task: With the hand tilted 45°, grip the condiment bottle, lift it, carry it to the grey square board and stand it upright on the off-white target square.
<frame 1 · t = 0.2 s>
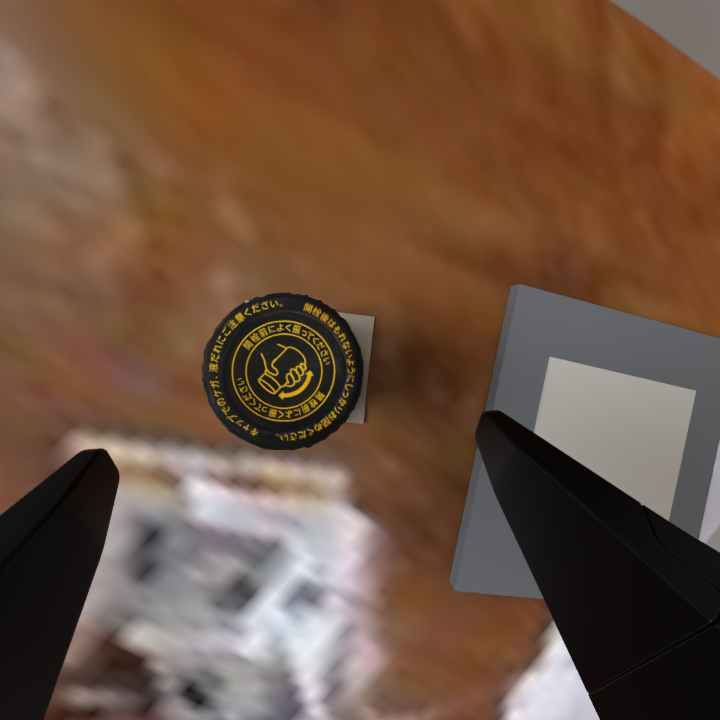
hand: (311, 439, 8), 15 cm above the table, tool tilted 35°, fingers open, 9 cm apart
grey square board: (595, 454, 27), on the table
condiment: (306, 363, 23), on the table
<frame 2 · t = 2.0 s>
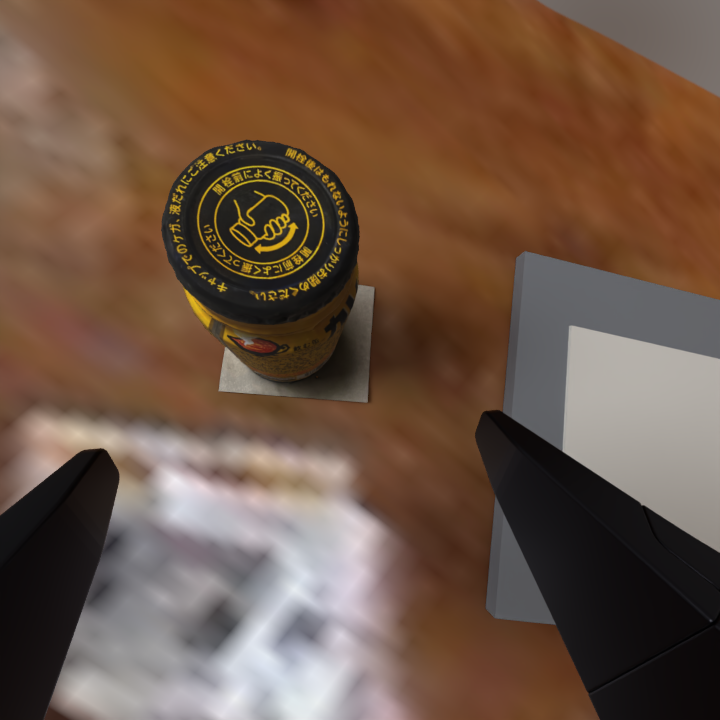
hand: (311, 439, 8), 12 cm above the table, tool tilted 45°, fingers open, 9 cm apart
grey square board: (640, 442, 23), on the table
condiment: (301, 337, 21), on the table
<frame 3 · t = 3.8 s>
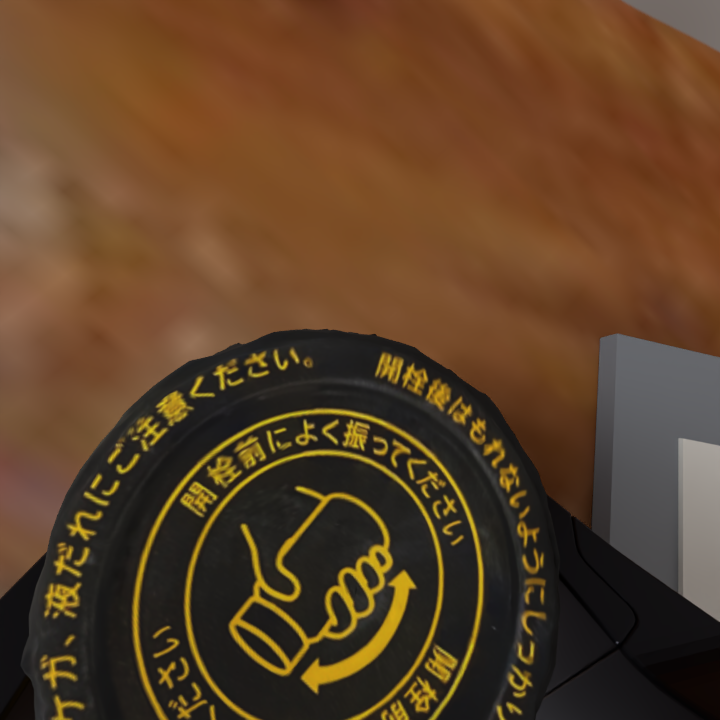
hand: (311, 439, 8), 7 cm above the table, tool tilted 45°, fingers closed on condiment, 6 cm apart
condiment: (329, 459, 15), on the table, touching gripper
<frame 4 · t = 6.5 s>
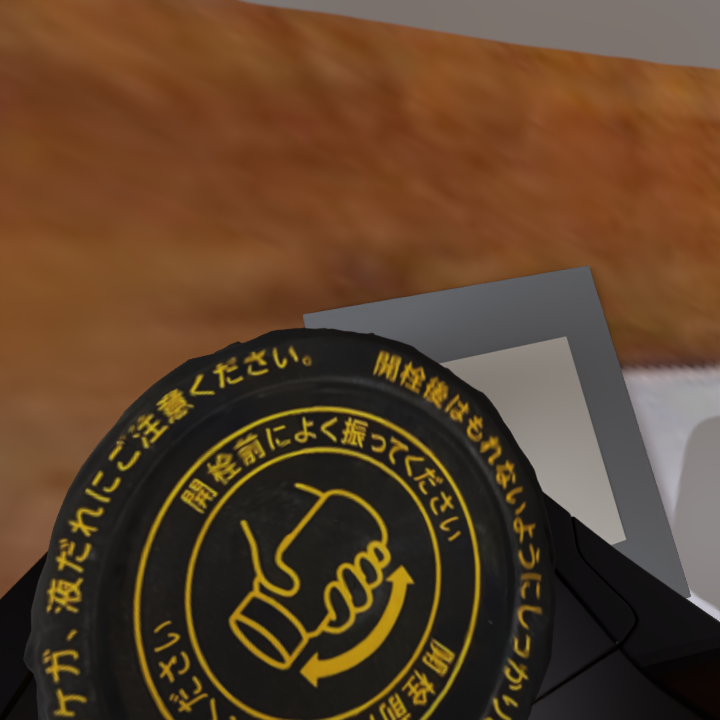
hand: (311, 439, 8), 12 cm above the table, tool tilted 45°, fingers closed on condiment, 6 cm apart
grey square board: (493, 457, 22), on the table
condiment: (328, 458, 15), point 5 cm above the table, touching gripper
when the fingers open (8 cm above the table, at t = 9.3 s): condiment stays where it is, resting on grey square board.
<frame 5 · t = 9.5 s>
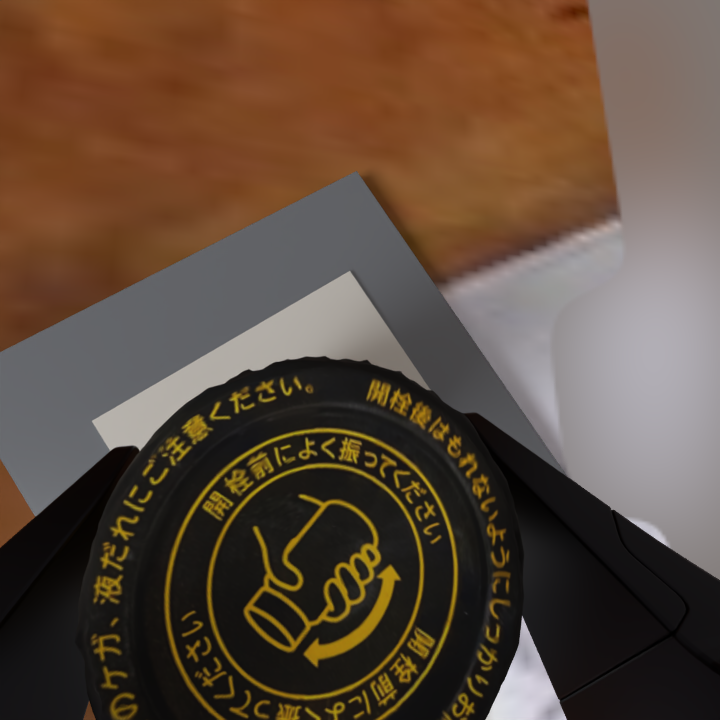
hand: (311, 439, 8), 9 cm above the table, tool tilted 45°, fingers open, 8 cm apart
grey square board: (310, 456, 17), on the table
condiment: (328, 461, 16), point 1 cm above the table, touching grey square board
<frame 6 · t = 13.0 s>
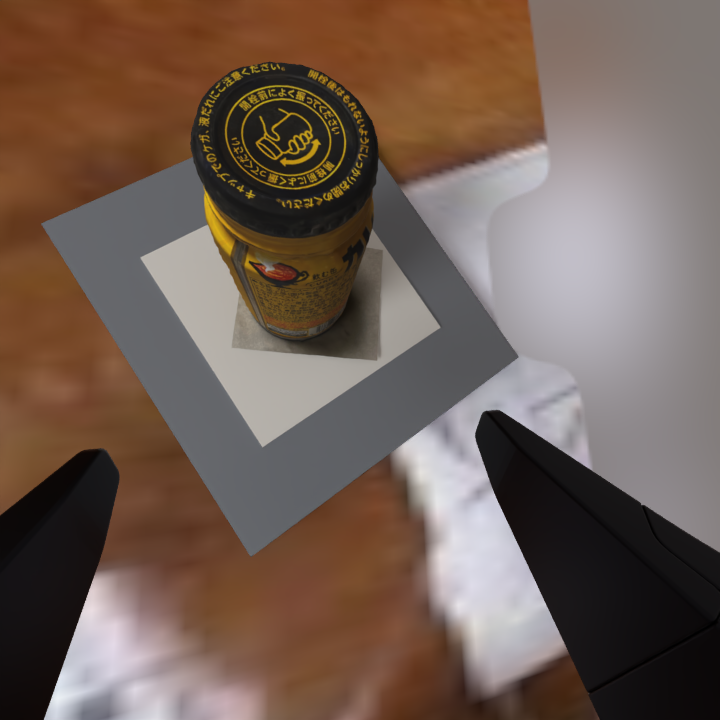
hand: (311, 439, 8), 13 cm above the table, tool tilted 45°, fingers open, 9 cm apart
grey square board: (298, 300, 22), on the table
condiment: (311, 298, 21), point 1 cm above the table, touching grey square board
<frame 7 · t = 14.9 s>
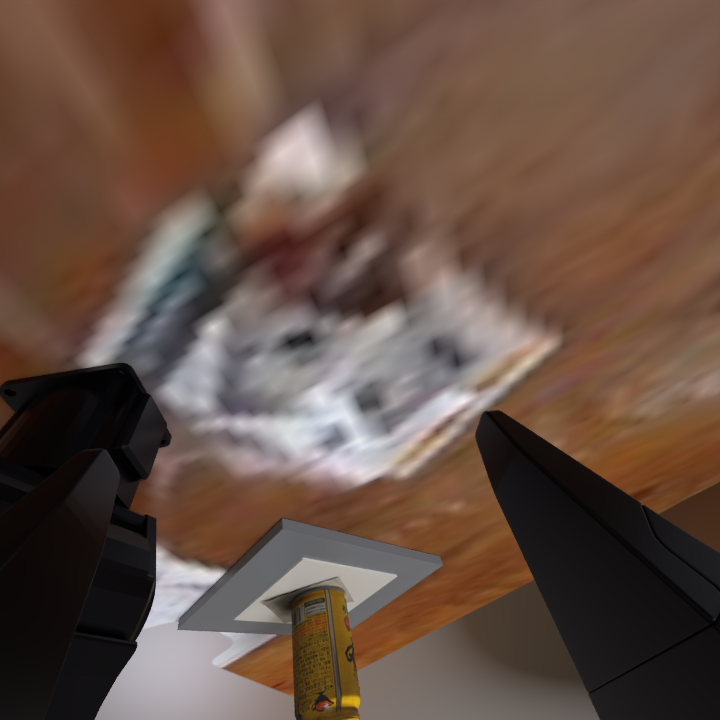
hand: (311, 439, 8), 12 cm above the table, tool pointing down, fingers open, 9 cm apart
grey square board: (316, 585, 39), on the table
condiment: (310, 597, 39), point 1 cm above the table, touching grey square board
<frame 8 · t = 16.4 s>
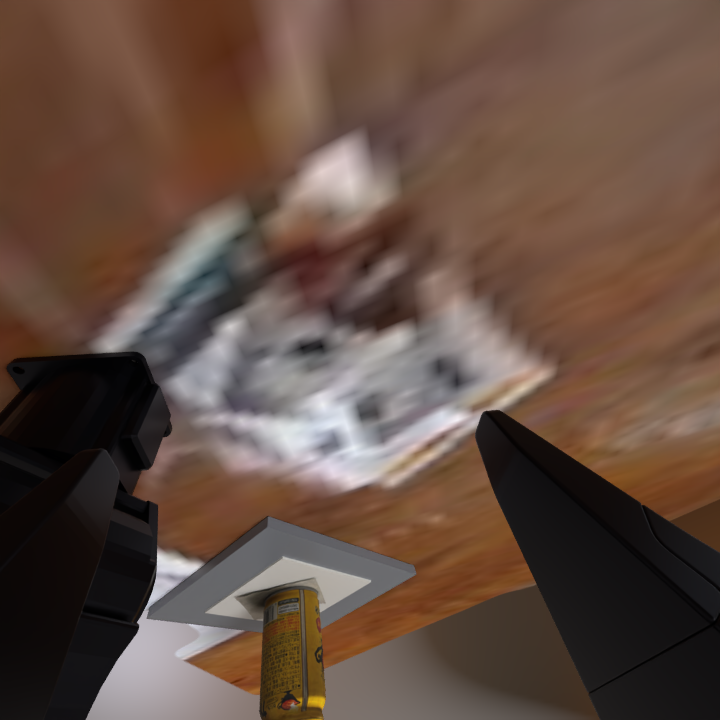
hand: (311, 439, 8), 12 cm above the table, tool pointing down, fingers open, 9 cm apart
grey square board: (290, 585, 40), on the table
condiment: (283, 596, 39), point 1 cm above the table, touching grey square board
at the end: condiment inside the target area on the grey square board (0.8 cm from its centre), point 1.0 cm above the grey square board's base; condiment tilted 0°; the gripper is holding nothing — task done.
